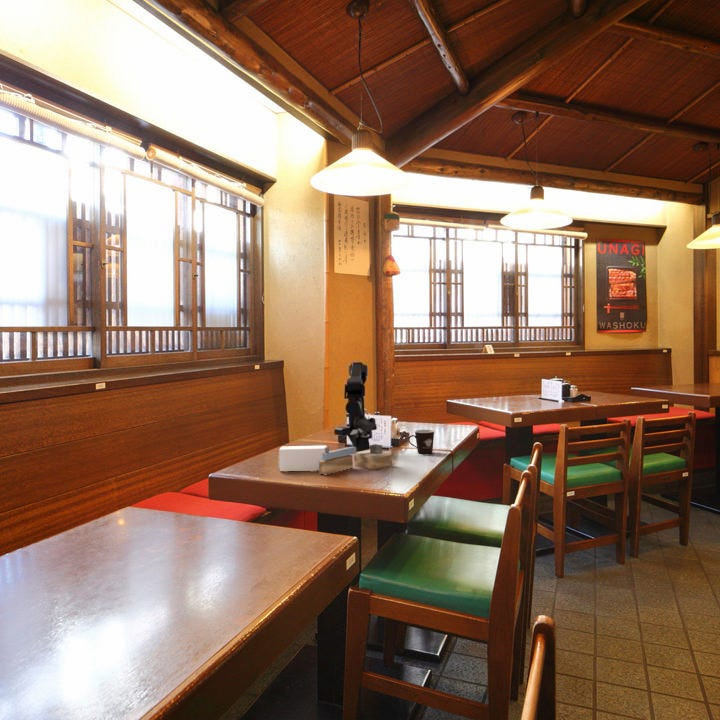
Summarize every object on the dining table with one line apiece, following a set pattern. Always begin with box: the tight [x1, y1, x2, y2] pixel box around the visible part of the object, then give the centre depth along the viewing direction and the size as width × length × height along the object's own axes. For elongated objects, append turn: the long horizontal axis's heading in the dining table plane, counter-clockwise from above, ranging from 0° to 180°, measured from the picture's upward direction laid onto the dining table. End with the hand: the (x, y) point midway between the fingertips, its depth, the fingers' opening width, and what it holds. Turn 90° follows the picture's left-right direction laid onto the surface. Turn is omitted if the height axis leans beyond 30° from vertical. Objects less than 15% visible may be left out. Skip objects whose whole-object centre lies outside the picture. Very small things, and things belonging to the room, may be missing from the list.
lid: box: [354, 443, 392, 459], centre depth 227 cm, size 12×10×5 cm
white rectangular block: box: [277, 445, 328, 472], centre depth 224 cm, size 20×6×9 cm, turn 88°
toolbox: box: [353, 454, 393, 471], centre depth 227 cm, size 12×10×4 cm
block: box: [322, 445, 356, 460], centre depth 221 cm, size 2×16×4 cm, turn 133°
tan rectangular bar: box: [318, 454, 354, 476], centre depth 220 cm, size 3×15×5 cm, turn 133°
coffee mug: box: [407, 429, 435, 455], centre depth 248 cm, size 12×9×10 cm
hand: (356, 449), depth 227 cm, fingers closed
